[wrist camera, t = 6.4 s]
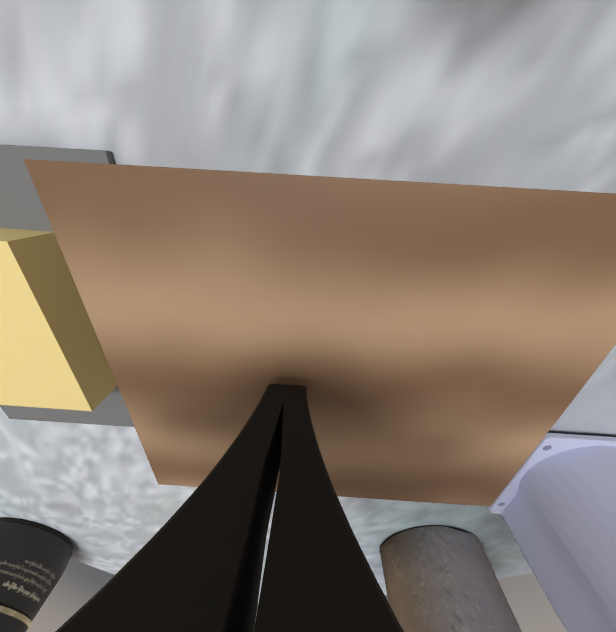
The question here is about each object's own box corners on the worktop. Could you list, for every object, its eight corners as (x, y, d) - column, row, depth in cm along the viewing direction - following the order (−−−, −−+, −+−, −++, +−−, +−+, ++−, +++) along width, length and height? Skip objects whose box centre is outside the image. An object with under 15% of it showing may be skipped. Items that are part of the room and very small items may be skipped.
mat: (185, 426, 17) (183, 429, 17) (14, 414, 17) (9, 418, 17) (111, 151, 10) (105, 150, 9) (-192, 133, 10) (-206, 132, 10)
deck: (454, 439, 17) (490, 506, 13) (191, 421, 17) (158, 484, 14) (580, 193, 10) (726, 200, 6) (127, 166, 10) (23, 158, 6)
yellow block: (-19, 403, 14) (20, 377, 15) (92, 411, 13) (118, 384, 15) (-155, 230, 9) (-80, 222, 11) (6, 241, 9) (56, 231, 11)
